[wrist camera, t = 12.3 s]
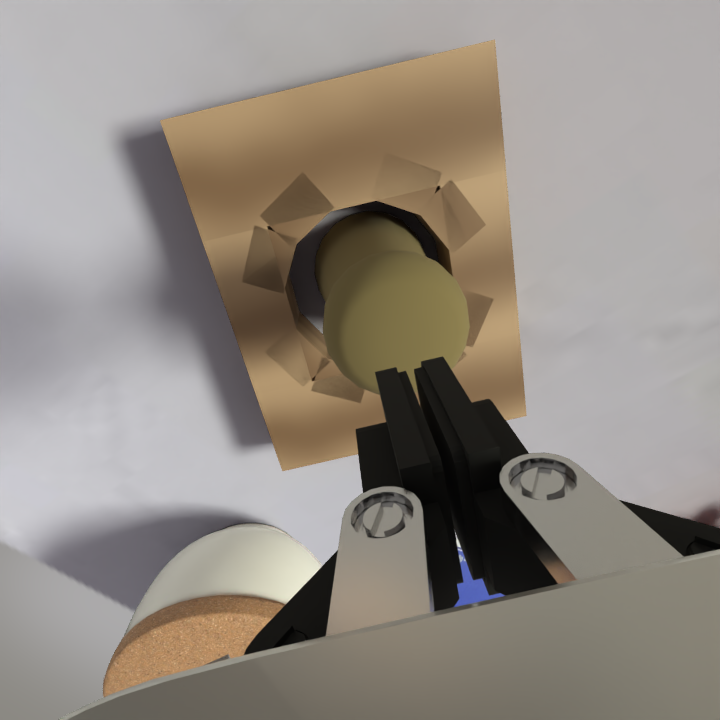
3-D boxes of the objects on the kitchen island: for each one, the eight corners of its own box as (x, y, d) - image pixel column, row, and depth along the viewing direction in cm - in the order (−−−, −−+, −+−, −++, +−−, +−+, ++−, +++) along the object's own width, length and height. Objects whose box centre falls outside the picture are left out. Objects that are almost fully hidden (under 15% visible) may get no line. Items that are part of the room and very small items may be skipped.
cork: (439, 299, 26) (513, 386, 16) (339, 338, 27) (350, 446, 17) (405, 192, 24) (466, 216, 14) (296, 237, 24) (277, 291, 14)
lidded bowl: (190, 638, 35) (137, 830, 25) (132, 508, 30) (36, 683, 20) (355, 609, 35) (368, 789, 25) (324, 474, 30) (325, 632, 20)
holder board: (180, 125, 22) (159, 120, 19) (472, 55, 22) (494, 39, 19) (286, 441, 29) (282, 471, 26) (506, 391, 29) (526, 415, 26)
